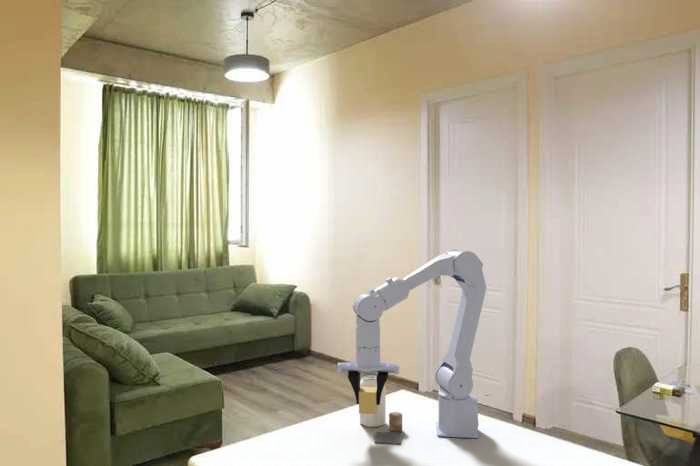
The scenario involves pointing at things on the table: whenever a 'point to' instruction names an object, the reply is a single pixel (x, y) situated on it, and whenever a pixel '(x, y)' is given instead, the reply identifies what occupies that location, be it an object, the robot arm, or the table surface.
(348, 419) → the table surface
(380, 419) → the can
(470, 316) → the robot arm
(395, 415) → the cork cylinder
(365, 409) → the ochre block
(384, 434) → the coaster
